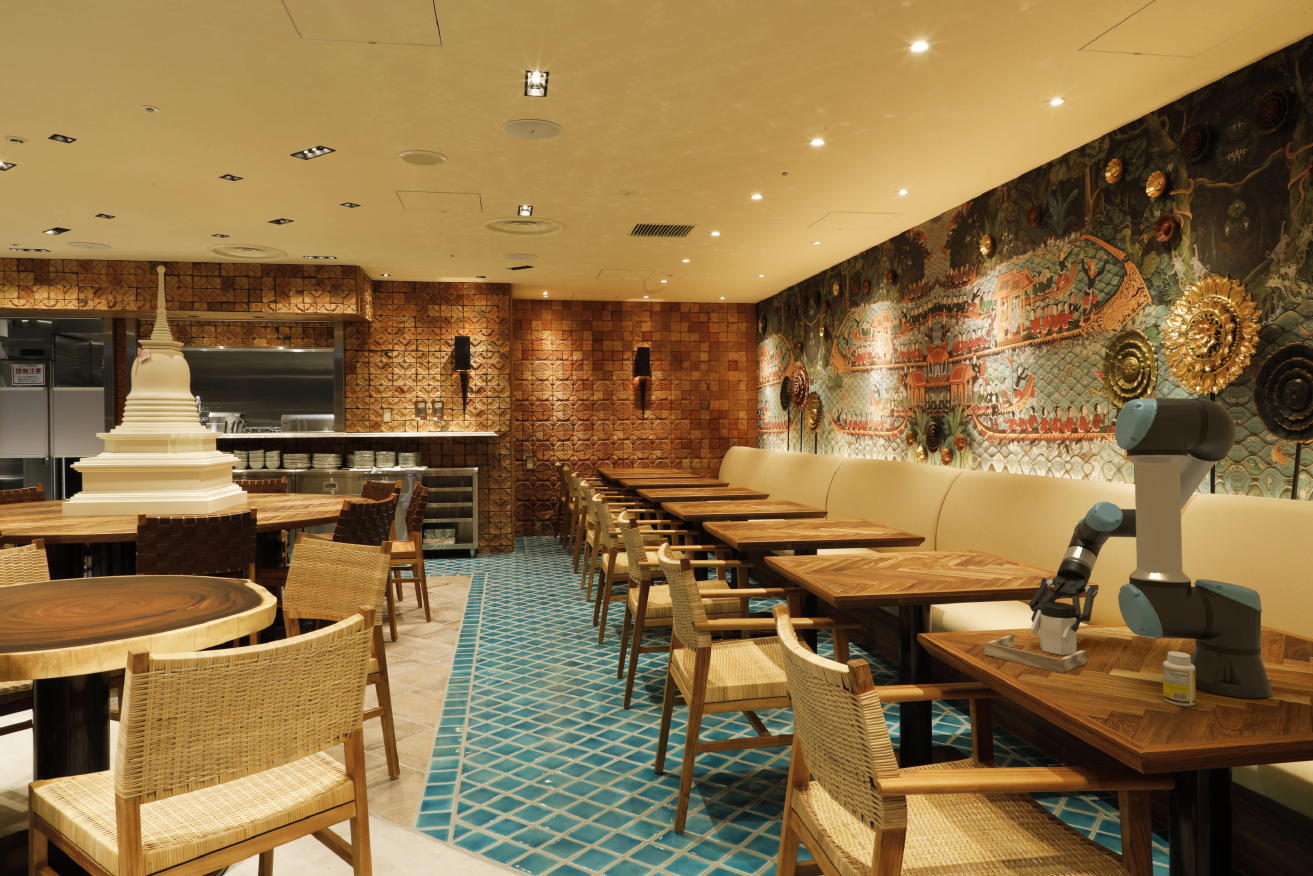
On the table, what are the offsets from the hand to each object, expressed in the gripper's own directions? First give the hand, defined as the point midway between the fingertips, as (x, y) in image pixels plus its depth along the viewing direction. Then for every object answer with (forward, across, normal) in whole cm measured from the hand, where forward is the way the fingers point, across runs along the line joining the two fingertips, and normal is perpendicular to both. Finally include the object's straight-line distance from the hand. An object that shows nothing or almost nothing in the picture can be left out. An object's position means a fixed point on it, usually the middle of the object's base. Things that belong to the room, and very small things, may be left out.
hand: (1049, 636), depth 193 cm
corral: (+9, 0, +3) cm, 10 cm away
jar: (+1, -1, -5) cm, 6 cm away
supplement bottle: (+15, -34, +9) cm, 38 cm away
